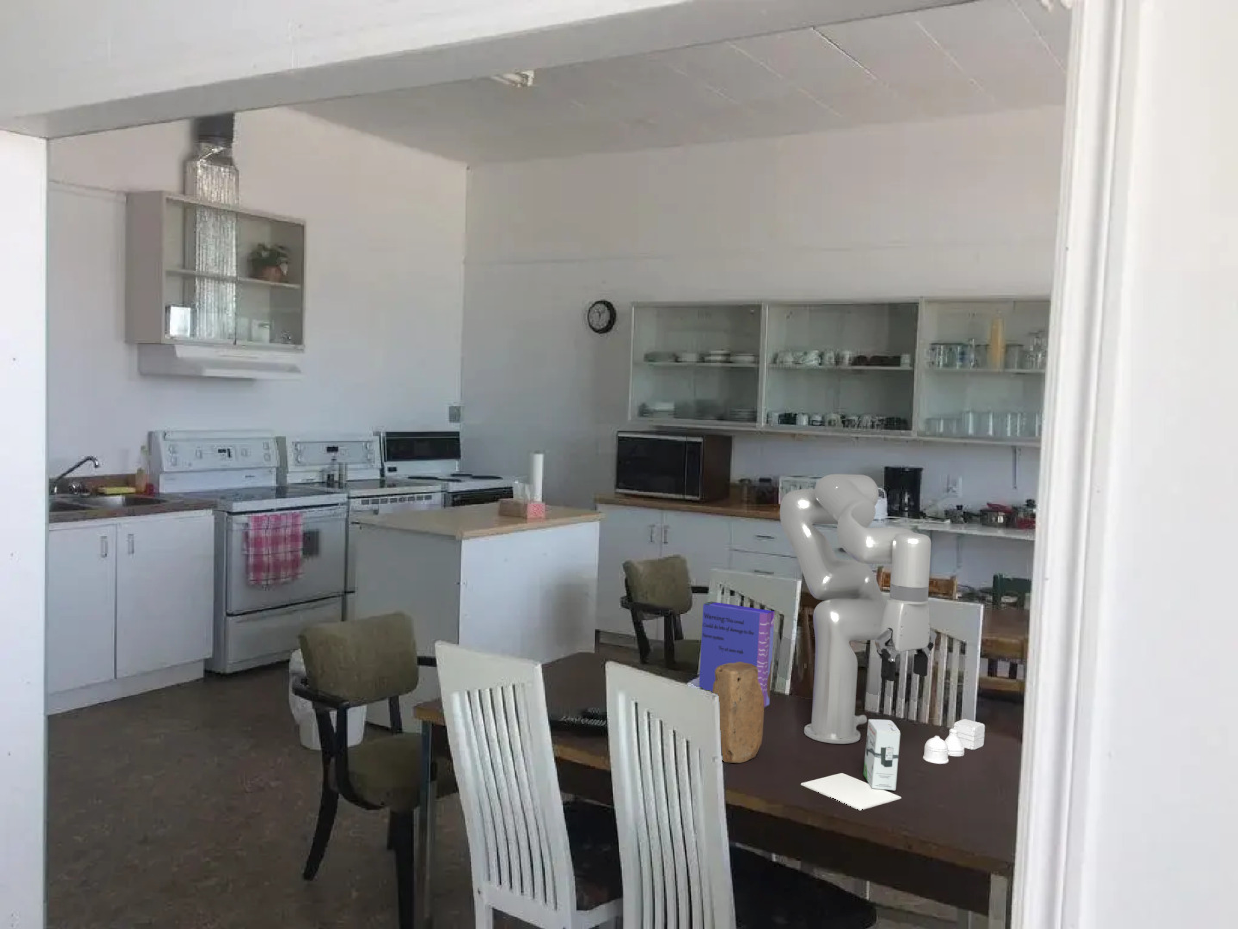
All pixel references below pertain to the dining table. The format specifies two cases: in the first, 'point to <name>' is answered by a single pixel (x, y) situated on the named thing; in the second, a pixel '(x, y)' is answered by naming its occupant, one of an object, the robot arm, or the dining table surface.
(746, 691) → the block
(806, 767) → the dining table surface
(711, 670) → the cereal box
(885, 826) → the dining table surface
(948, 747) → the container set
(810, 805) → the dining table surface
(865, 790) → the mat
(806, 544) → the robot arm
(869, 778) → the ink box
